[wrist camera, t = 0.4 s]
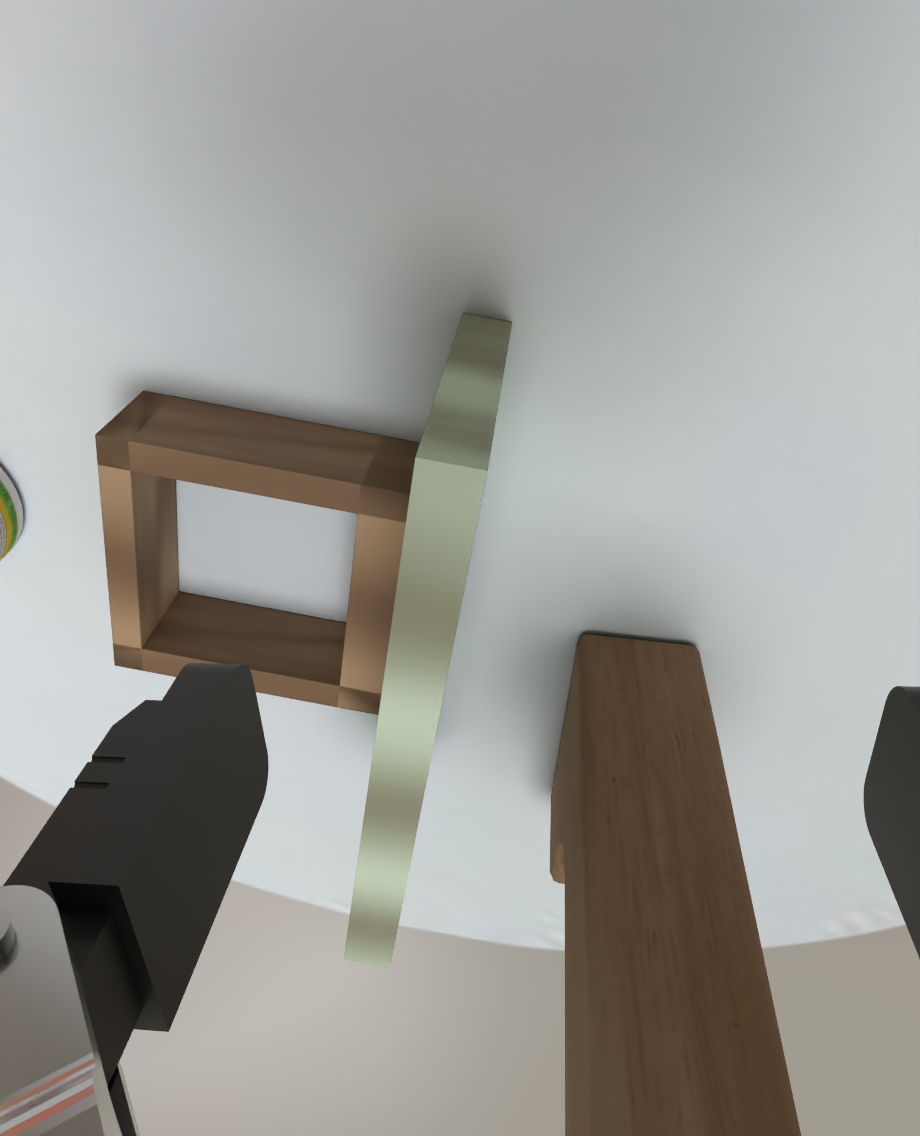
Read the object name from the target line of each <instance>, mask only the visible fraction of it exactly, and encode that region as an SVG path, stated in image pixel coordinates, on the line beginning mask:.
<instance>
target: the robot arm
mask: <svg viewBox="0 0 920 1136" xmlns="http://www.w3.org/2000/svg"><path fill="white" fill-rule="evenodd" d="M267 779H268V754H267V748H266V743H265V738H264V733H263V728H262V723H261V717H260V712H259V707H258V702H257V697H256V692H255V687H254V682H253V677H252V674H251V671H250V669H249V668H248V667H247V666H246V665H244V664H212V663H188V664H186V665H185V666H184V667H183V668H182V670H181V671H180V673H179V674H178V676H177V678H176V679H175V681H174V682H173V684H172V685H171V687H170V689H169V690H168V692H167V693H166V695H165V696H164V698H163V700H162V701H157V700H145V701H144V702H143V703H141V704H140V705H139V706H138V707H136V708H135V709H134V710H132V711H131V712H130V713H128V714H127V715H126V716H125V717H123V718H122V719H121V720H119V721H118V722H117V723H116V724H114V725H113V726H112V727H111V729H110V730H109V732H108V733H107V735H106V736H105V738H104V739H103V741H102V742H101V744H100V745H99V746H98V748H97V749H96V751H95V752H94V754H93V755H92V761H91V762H88V763H87V764H86V765H85V767H84V768H83V770H82V771H81V773H80V774H79V776H78V777H77V779H76V780H75V786H74V788H70V789H69V790H68V792H67V793H66V795H65V796H64V798H63V799H62V801H61V802H60V804H59V805H58V806H57V808H56V809H55V811H54V813H53V814H52V815H51V817H50V818H49V820H48V821H47V823H46V824H45V826H44V827H43V829H42V830H41V831H40V833H39V834H38V836H37V837H36V839H35V840H34V842H33V843H32V845H31V846H30V848H29V849H28V851H27V852H26V853H25V855H24V857H23V858H22V859H21V861H20V862H19V864H18V865H17V867H16V868H15V870H14V871H13V872H12V874H11V876H10V877H9V878H8V880H7V881H6V883H5V884H4V885H3V886H2V887H0V1136H140V1133H139V1129H138V1126H137V1122H136V1118H135V1115H134V1111H133V1107H132V1103H131V1100H130V1096H129V1092H128V1089H127V1085H126V1081H125V1077H124V1074H123V1070H122V1068H121V1065H120V1063H119V1060H120V1058H121V1056H122V1054H123V1051H124V1049H125V1047H126V1045H127V1042H128V1040H129V1038H130V1036H131V1033H132V1031H133V1029H142V1030H153V1031H166V1032H168V1031H169V1030H170V1027H171V1025H172V1022H173V1020H174V1017H175V1015H176V1013H177V1010H178V1008H179V1005H180V1003H181V1000H182V998H183V995H184V993H185V990H186V988H187V985H188V983H189V981H190V978H191V976H192V973H193V971H194V968H195V966H196V964H197V961H198V959H199V956H200V953H201V951H202V949H203V946H204V944H205V941H206V939H207V936H208V934H209V932H210V929H211V927H212V924H213V922H214V919H215V917H216V914H217V912H218V909H219V907H220V905H221V902H222V900H223V897H224V895H225V892H226V890H227V888H228V885H229V883H230V880H231V878H232V875H233V873H234V870H235V868H236V865H237V863H238V861H239V858H240V856H241V853H242V851H243V848H244V846H245V843H246V841H247V838H248V836H249V834H250V831H251V829H252V826H253V824H254V821H255V819H256V816H257V814H258V812H259V809H260V807H261V804H262V801H263V799H264V795H265V791H266V786H267ZM864 811H865V818H866V823H867V827H868V830H869V833H870V836H871V838H872V841H873V843H874V846H875V848H876V851H877V853H878V856H879V858H880V861H881V863H882V866H883V868H884V871H885V873H886V876H887V878H888V881H889V883H890V886H891V888H892V891H893V893H894V896H895V898H896V901H897V903H898V906H899V908H900V911H901V913H902V915H903V918H904V920H905V923H906V925H907V928H908V930H909V933H910V935H911V938H912V940H913V943H914V945H915V948H916V950H917V953H918V955H919V958H920V687H905V686H897V687H894V688H893V689H892V690H891V691H890V693H889V695H888V697H887V699H886V703H885V706H884V710H883V714H882V718H881V722H880V725H879V729H878V733H877V737H876V741H875V745H874V748H873V752H872V756H871V760H870V764H869V767H868V771H867V775H866V779H865V785H864Z"/></svg>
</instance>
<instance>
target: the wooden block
mask: <svg viewBox="0 0 920 1136" xmlns="http://www.w3.org/2000/svg"><path fill="white" fill-rule="evenodd" d="M550 873H551V875H552V877H553V880H554V881H556V882H558V883H563V884H565V1136H801V1133H800V1128H799V1123H798V1119H797V1114H796V1109H795V1105H794V1100H793V1095H792V1090H791V1086H790V1081H789V1076H788V1071H787V1066H786V1062H785V1057H784V1052H783V1047H782V1043H781V1038H780V1033H779V1029H778V1024H777V1019H776V1015H775V1009H774V1005H773V1000H772V996H771V990H770V986H769V981H768V976H767V971H766V967H765V962H764V957H763V952H762V948H761V943H760V938H759V933H758V929H757V924H756V919H755V914H754V910H753V905H752V900H751V895H750V891H749V886H748V881H747V876H746V872H745V867H744V862H743V857H742V853H741V848H740V843H739V838H738V833H737V828H736V823H735V819H734V814H733V809H732V804H731V799H730V794H729V789H728V784H727V780H726V775H725V770H724V765H723V760H722V755H721V750H720V745H719V741H718V736H717V731H716V727H715V722H714V718H713V713H712V708H711V704H710V699H709V695H708V690H707V685H706V681H705V676H704V672H703V667H702V663H701V658H700V654H699V651H698V649H697V648H695V647H693V646H690V645H683V644H673V643H664V642H655V641H646V640H637V639H628V638H619V637H610V636H600V635H591V634H588V635H583V636H582V638H581V640H580V641H579V642H578V644H577V649H576V655H575V661H574V667H573V673H572V678H571V684H570V690H569V696H568V702H567V707H566V713H565V719H564V725H563V731H562V736H561V742H560V748H559V754H558V760H557V765H556V771H555V777H554V783H553V789H552V795H551V834H550Z"/></svg>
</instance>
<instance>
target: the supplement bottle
mask: <svg viewBox="0 0 920 1136" xmlns="http://www.w3.org/2000/svg"><path fill="white" fill-rule="evenodd" d="M22 528H23V510H22V504H21V501H20V498H19V495H18V493H17V490H16V488H15V486H14V485H13V483H12V481H11V480H10V478H9V477H8V475H7V474H6V473H5V472H4V470H3V469H2V468H1V467H0V560H1V559H2V558H3V557H4V556H5V555H6V554H7V553H8V552H9V551H10V550H11V549H12V548H13V547H14V546H15V544H16V543H17V541H18V539H19V537H20V535H21V532H22Z"/></svg>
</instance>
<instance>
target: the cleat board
mask: <svg viewBox="0 0 920 1136" xmlns="http://www.w3.org/2000/svg"><path fill="white" fill-rule="evenodd" d="M511 325H512V322H507V321H502V320H497V319H491V318H486V317H481V316H475V315H470V314H465V313H463V315H462V318H461V321H460V324H459V327H458V330H457V333H456V336H455V339H454V342H453V345H452V348H451V351H450V354H449V357H448V360H447V363H446V366H445V369H444V372H443V375H442V378H441V381H440V384H439V387H438V390H437V393H436V396H435V399H434V402H433V405H432V408H431V411H430V414H429V417H428V420H427V424H426V427H425V430H424V433H423V436H422V439H421V442H420V443H417V442H411V441H406V440H401V439H395V438H390V437H385V436H380V435H374V434H369V433H364V432H358V431H353V430H348V429H342V428H337V427H332V426H327V425H321V424H316V423H311V422H305V421H300V420H295V419H289V418H284V417H279V416H274V415H268V414H263V413H258V412H252V411H247V410H242V409H236V408H231V407H226V406H221V405H215V404H210V403H205V402H199V401H194V400H189V399H183V398H178V397H173V396H168V395H162V394H157V393H152V392H146V391H143V392H142V393H141V394H139V395H138V396H137V397H136V398H135V399H134V400H133V401H132V402H131V403H130V404H128V405H127V406H126V407H125V408H124V409H123V410H122V411H121V412H120V413H119V414H118V415H116V416H115V417H114V418H113V419H112V420H111V421H110V422H109V423H108V424H107V425H105V426H104V427H103V428H102V429H101V430H100V431H99V432H98V433H97V434H96V435H95V437H96V449H97V461H98V472H99V484H100V496H101V508H102V520H103V531H104V543H105V555H106V567H107V578H108V590H109V602H110V614H111V626H112V637H113V649H114V661H115V665H116V666H121V667H126V668H132V669H137V670H142V671H147V672H153V673H158V674H163V675H169V676H174V677H177V676H178V674H179V673H180V671H181V670H182V668H183V667H184V666H185V665H186V664H188V663H212V664H244V665H246V666H247V667H248V668H249V669H250V671H251V674H252V677H253V682H254V687H255V692H259V693H265V694H270V695H275V696H280V697H286V698H291V699H296V700H302V701H307V702H312V703H318V704H323V705H328V706H334V707H339V708H344V709H350V710H355V711H360V712H366V713H371V714H376V715H378V722H377V729H376V736H375V743H374V750H373V757H372V764H371V771H370V778H369V785H368V792H367V799H366V806H365V813H364V820H363V827H362V835H361V842H360V849H359V856H358V863H357V870H356V877H355V884H354V891H353V898H352V905H351V912H350V919H349V926H348V933H347V940H346V947H345V954H344V960H349V961H354V962H360V963H365V964H370V965H376V966H381V967H386V968H390V964H391V959H392V955H393V949H394V944H395V939H396V934H397V929H398V924H399V919H400V914H401V909H402V904H403V898H404V893H405V888H406V883H407V878H408V873H409V868H410V863H411V858H412V853H413V848H414V842H415V837H416V832H417V827H418V822H419V817H420V812H421V807H422V802H423V797H424V791H425V786H426V781H427V776H428V771H429V766H430V761H431V756H432V751H433V746H434V740H435V735H436V730H437V725H438V720H439V715H440V710H441V705H442V700H443V695H444V690H445V684H446V679H447V674H448V669H449V664H450V659H451V654H452V649H453V644H454V639H455V633H456V628H457V623H458V618H459V613H460V608H461V603H462V598H463V593H464V588H465V583H466V577H467V572H468V567H469V562H470V557H471V552H472V547H473V542H474V537H475V532H476V526H477V521H478V516H479V511H480V506H481V501H482V496H483V491H484V486H485V481H486V475H487V470H488V464H489V458H490V452H491V446H492V440H493V434H494V428H495V422H496V416H497V410H498V404H499V397H500V391H501V385H502V379H503V373H504V367H505V361H506V355H507V349H508V343H509V337H510V331H511ZM176 480H182V481H187V482H192V483H198V484H203V485H208V486H214V487H219V488H224V489H230V490H235V491H240V492H245V493H251V494H256V495H261V496H267V497H272V498H277V499H283V500H288V501H293V502H299V503H304V504H309V505H314V506H320V507H325V508H330V509H336V510H341V511H346V512H352V513H357V514H358V519H357V528H356V538H355V547H354V557H353V566H352V575H351V585H350V594H349V604H348V613H347V623H342V622H336V621H331V620H326V619H320V618H315V617H310V616H304V615H299V614H294V613H288V612H283V611H278V610H272V609H267V608H262V607H257V606H251V605H246V604H241V603H235V602H230V601H225V600H219V599H214V598H209V597H203V596H198V595H193V594H187V593H182V592H179V578H178V544H177V510H176Z"/></svg>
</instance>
